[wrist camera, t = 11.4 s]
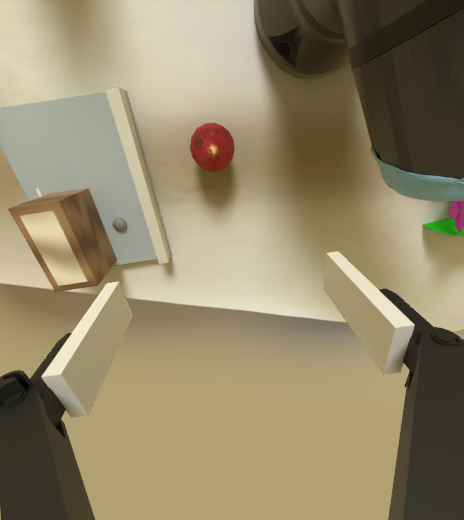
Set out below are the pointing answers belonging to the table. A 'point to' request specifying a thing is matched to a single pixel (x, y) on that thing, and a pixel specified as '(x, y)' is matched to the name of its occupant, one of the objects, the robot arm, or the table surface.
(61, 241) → the frame
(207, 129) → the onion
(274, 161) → the table surface
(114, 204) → the wall panel
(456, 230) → the potted plant
